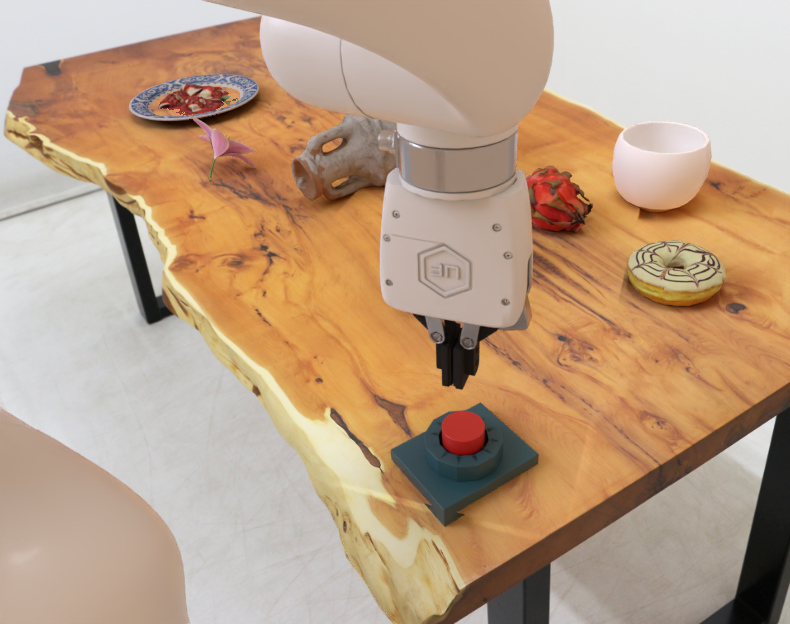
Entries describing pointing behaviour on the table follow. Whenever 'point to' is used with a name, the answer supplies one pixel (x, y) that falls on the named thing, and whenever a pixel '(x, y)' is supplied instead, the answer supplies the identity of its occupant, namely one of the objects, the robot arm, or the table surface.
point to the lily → (223, 144)
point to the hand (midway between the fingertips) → (457, 376)
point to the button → (463, 433)
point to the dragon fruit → (556, 200)
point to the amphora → (344, 159)
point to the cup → (660, 164)
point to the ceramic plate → (194, 96)
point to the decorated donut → (675, 273)
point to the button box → (462, 465)
